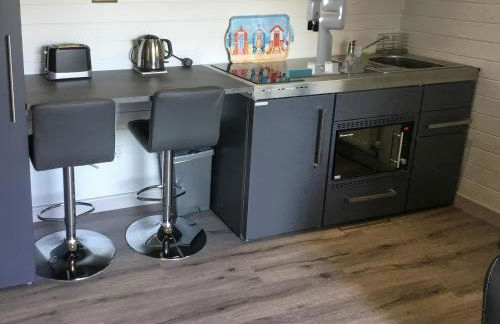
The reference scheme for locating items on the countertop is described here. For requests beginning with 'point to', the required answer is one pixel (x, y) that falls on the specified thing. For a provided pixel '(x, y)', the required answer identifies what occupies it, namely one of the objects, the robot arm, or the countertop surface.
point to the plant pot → (366, 58)
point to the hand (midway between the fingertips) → (312, 31)
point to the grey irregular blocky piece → (354, 62)
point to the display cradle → (324, 68)
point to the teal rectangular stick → (299, 72)
